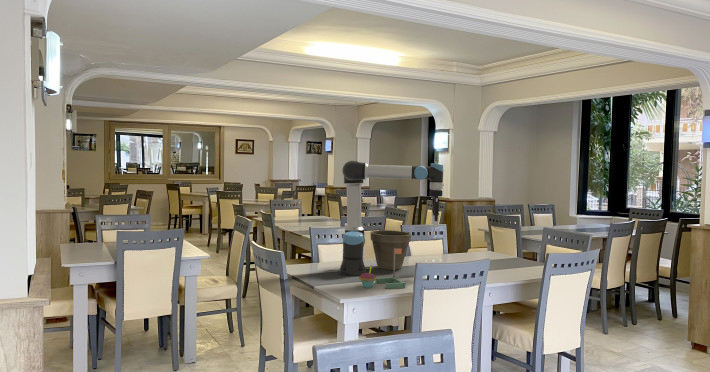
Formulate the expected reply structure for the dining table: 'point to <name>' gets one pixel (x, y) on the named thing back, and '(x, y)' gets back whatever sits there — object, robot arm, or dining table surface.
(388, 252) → the plant pot
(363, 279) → the cupcake
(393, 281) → the mini putting green
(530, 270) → the dining table surface
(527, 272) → the dining table surface
